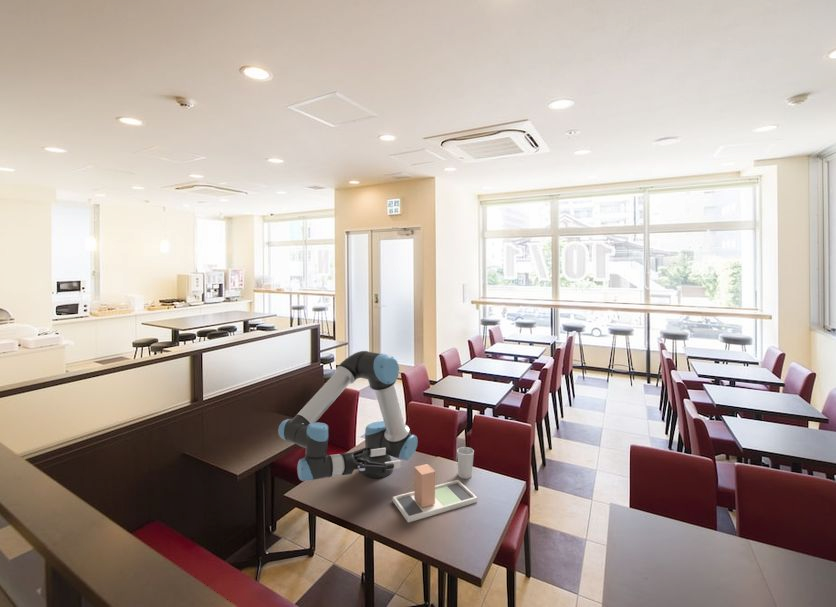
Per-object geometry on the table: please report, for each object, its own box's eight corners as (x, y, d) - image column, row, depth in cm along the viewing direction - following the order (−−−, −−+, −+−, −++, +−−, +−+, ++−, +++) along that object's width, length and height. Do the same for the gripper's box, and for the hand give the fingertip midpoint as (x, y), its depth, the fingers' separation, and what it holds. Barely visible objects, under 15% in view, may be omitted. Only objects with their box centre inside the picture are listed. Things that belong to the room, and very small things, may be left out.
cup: (460, 469, 198) (460, 445, 196) (475, 473, 194) (476, 449, 193) (454, 477, 191) (454, 452, 189) (470, 481, 187) (470, 456, 186)
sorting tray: (392, 501, 171) (392, 496, 171) (458, 483, 185) (458, 479, 184) (408, 522, 157) (408, 517, 157) (477, 501, 171) (477, 497, 170)
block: (414, 498, 170) (414, 466, 169) (427, 495, 173) (427, 463, 172) (421, 507, 164) (421, 474, 163) (434, 503, 167) (435, 471, 165)
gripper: (330, 461, 161) (379, 455, 171) (352, 489, 139) (406, 479, 150) (331, 443, 161) (380, 437, 171) (353, 467, 139) (407, 459, 150)
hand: (392, 457), depth 161 cm, fingers open, 13 cm apart
